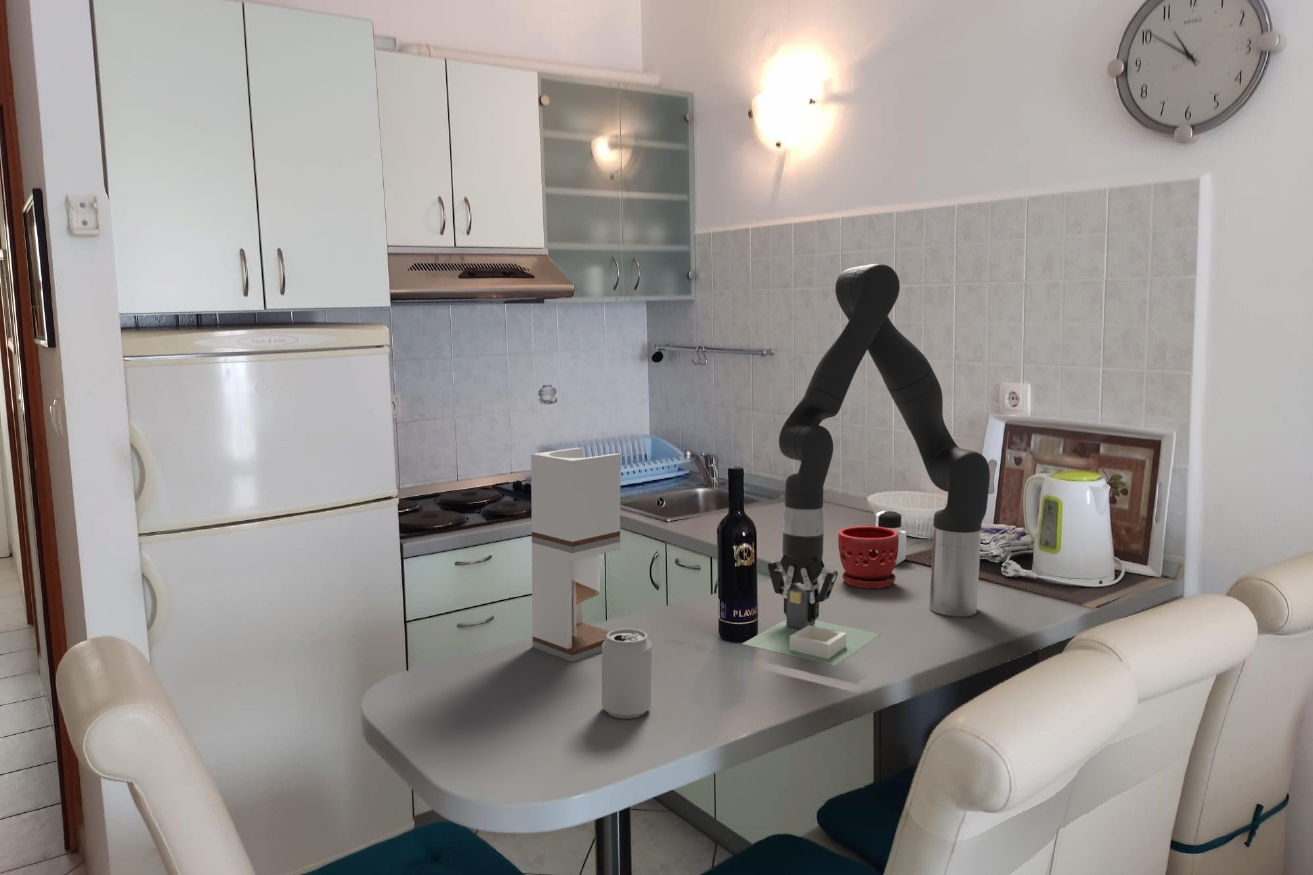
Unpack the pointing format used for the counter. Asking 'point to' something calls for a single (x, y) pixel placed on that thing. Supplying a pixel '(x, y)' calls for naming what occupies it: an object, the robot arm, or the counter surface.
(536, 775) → the counter surface
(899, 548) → the medicine bottle
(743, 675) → the counter surface
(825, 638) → the board
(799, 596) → the plug
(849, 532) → the plant pot
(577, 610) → the white tall box
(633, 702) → the can
